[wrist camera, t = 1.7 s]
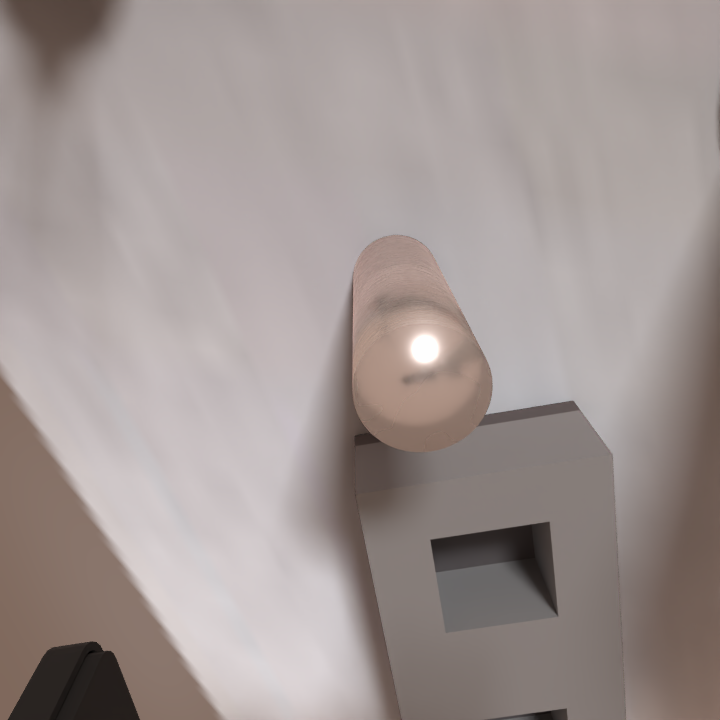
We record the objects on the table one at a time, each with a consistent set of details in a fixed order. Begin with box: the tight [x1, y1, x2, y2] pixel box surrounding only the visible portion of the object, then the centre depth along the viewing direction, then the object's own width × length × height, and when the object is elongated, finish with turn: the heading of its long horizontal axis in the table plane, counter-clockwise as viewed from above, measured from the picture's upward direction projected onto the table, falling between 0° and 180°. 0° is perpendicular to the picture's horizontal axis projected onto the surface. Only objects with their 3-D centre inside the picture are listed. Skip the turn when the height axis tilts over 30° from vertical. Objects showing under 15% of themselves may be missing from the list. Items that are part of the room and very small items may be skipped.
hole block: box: [355, 401, 626, 720], centre depth 32 cm, size 10×20×5 cm, turn 10°
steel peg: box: [352, 235, 492, 452], centre depth 23 cm, size 4×4×12 cm
